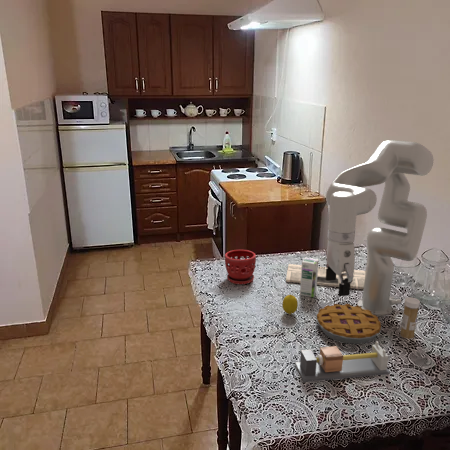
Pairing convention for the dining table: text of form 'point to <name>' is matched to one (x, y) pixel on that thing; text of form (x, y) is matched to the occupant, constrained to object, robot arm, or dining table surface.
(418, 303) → the sprinkles bottle
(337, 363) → the sleeve
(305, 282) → the syrup box
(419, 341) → the dining table surface
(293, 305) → the lemon
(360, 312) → the pie
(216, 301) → the dining table surface
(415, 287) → the dining table surface
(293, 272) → the newspaper
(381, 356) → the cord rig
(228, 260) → the plant pot
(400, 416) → the dining table surface
